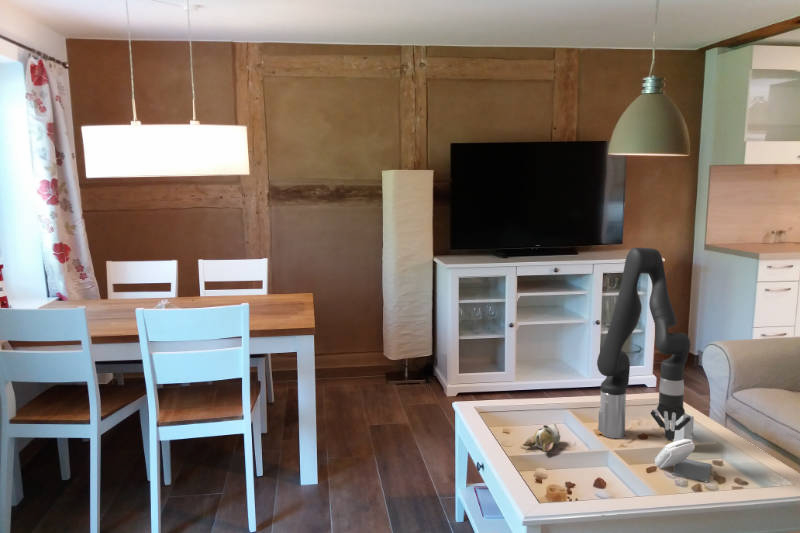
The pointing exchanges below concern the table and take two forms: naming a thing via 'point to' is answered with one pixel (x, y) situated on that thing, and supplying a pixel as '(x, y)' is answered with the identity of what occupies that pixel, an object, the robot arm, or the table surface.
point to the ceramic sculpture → (544, 438)
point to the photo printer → (674, 453)
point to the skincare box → (684, 430)
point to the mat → (692, 470)
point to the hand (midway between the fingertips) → (669, 440)
